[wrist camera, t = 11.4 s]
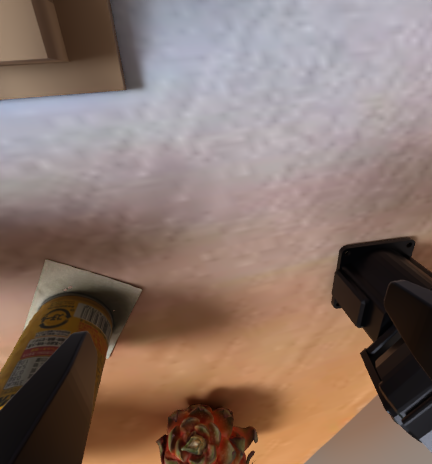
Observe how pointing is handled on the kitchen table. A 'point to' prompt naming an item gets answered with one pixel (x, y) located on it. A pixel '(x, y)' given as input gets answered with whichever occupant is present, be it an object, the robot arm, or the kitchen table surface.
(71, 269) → the condiment
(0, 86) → the block
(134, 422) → the kitchen table surface
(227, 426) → the dragon fruit
